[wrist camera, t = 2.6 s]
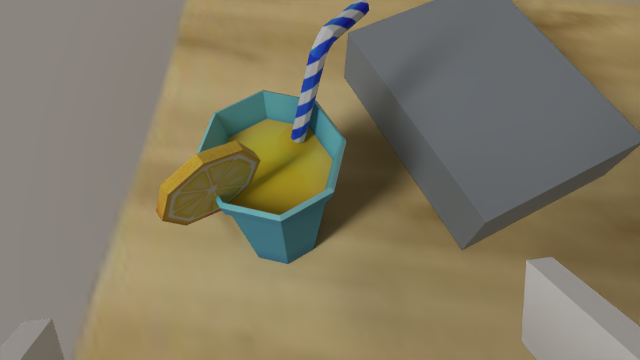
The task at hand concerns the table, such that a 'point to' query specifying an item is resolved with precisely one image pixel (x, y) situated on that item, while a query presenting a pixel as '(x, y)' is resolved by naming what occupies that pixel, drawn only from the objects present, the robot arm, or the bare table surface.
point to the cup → (267, 162)
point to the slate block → (483, 111)
